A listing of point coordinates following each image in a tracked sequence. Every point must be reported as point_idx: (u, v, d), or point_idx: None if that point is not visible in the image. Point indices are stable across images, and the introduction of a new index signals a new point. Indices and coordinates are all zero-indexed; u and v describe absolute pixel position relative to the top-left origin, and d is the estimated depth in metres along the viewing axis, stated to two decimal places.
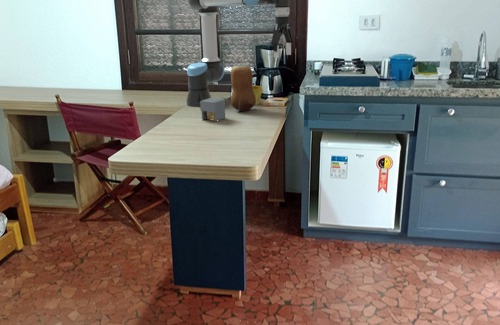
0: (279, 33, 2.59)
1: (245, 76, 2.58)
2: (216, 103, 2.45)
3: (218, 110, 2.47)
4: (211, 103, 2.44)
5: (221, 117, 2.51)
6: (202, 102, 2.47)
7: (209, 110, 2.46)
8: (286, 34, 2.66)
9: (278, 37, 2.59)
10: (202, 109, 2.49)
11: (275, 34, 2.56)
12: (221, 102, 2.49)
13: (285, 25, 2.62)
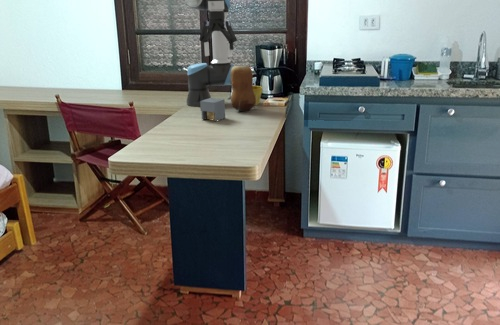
0: None
1: (245, 76, 2.58)
2: (216, 103, 2.45)
3: (218, 110, 2.47)
4: (211, 103, 2.44)
5: (221, 117, 2.51)
6: (202, 102, 2.47)
7: (209, 110, 2.46)
8: None
9: (206, 34, 2.34)
10: (202, 109, 2.49)
11: None
12: (221, 102, 2.49)
13: (218, 21, 2.29)
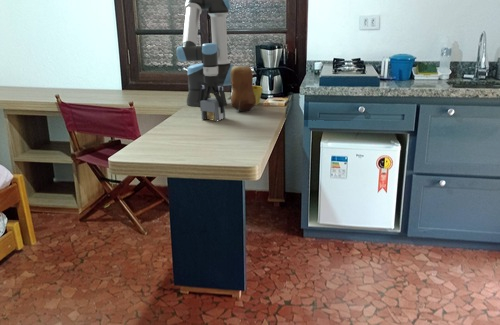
0: None
1: (245, 76, 2.58)
2: (216, 103, 2.45)
3: (218, 110, 2.47)
4: (211, 103, 2.44)
5: None
6: (202, 102, 2.47)
7: (209, 110, 2.46)
8: None
9: (204, 97, 2.50)
10: (202, 109, 2.49)
11: None
12: None
13: (212, 84, 2.45)
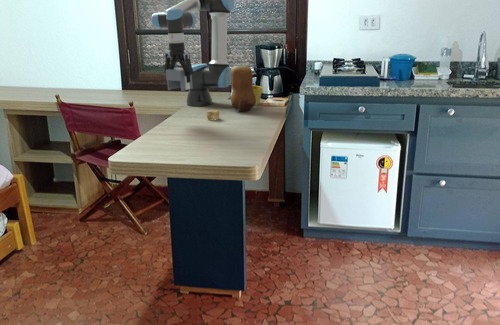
0: None
1: (245, 76, 2.58)
2: (182, 71, 2.35)
3: (184, 79, 2.38)
4: (176, 71, 2.35)
5: None
6: (167, 71, 2.37)
7: (174, 79, 2.37)
8: None
9: (170, 66, 2.41)
10: (168, 78, 2.39)
11: None
12: None
13: (178, 52, 2.35)
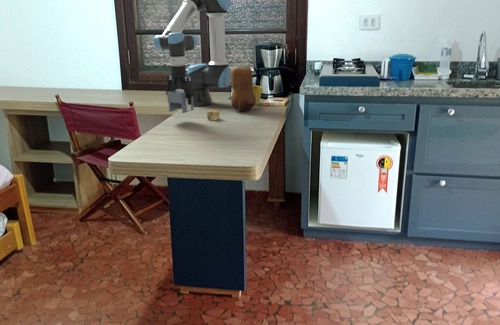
0: None
1: (245, 76, 2.58)
2: (183, 94, 2.39)
3: (185, 102, 2.41)
4: (178, 94, 2.38)
5: None
6: (169, 93, 2.41)
7: (176, 101, 2.40)
8: None
9: None
10: (169, 100, 2.42)
11: None
12: None
13: (179, 75, 2.39)
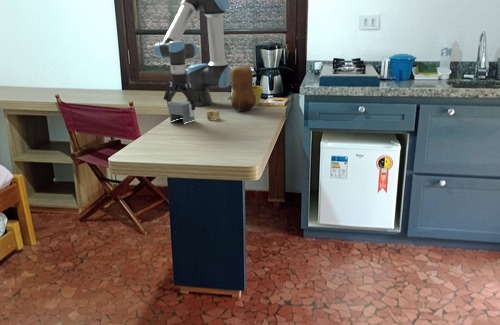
0: None
1: (245, 76, 2.58)
2: (184, 106, 2.41)
3: (186, 113, 2.43)
4: (179, 106, 2.40)
5: (190, 120, 2.46)
6: (170, 105, 2.43)
7: (177, 113, 2.42)
8: None
9: (170, 94, 2.46)
10: (170, 112, 2.44)
11: None
12: None
13: (180, 83, 2.40)
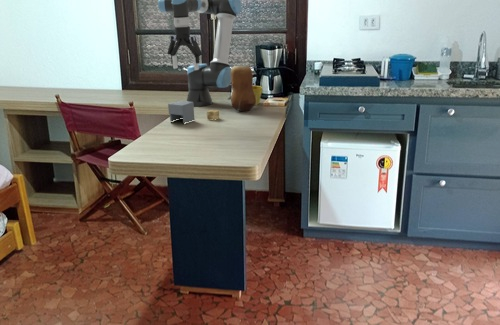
0: None
1: (245, 76, 2.58)
2: (184, 106, 2.41)
3: (186, 113, 2.43)
4: (179, 106, 2.40)
5: (190, 120, 2.46)
6: (170, 105, 2.43)
7: (177, 113, 2.42)
8: None
9: (174, 48, 2.47)
10: (170, 112, 2.44)
11: None
12: (189, 105, 2.44)
13: (183, 36, 2.41)
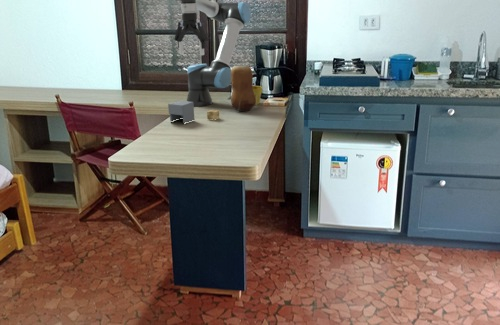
0: None
1: (245, 76, 2.58)
2: (184, 106, 2.41)
3: (186, 113, 2.43)
4: (179, 106, 2.40)
5: (190, 120, 2.46)
6: (170, 105, 2.43)
7: (177, 113, 2.42)
8: None
9: (181, 34, 2.54)
10: (170, 112, 2.44)
11: None
12: (189, 105, 2.44)
13: (190, 22, 2.48)
